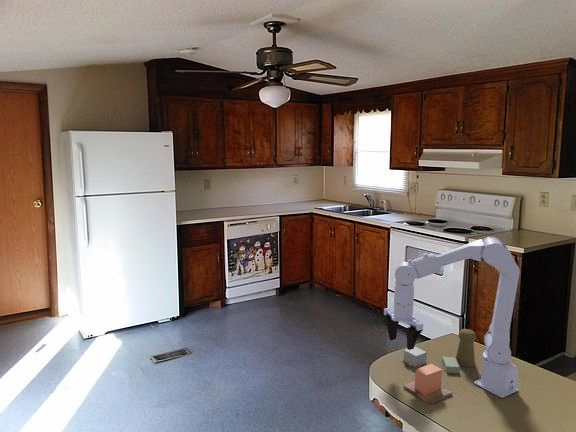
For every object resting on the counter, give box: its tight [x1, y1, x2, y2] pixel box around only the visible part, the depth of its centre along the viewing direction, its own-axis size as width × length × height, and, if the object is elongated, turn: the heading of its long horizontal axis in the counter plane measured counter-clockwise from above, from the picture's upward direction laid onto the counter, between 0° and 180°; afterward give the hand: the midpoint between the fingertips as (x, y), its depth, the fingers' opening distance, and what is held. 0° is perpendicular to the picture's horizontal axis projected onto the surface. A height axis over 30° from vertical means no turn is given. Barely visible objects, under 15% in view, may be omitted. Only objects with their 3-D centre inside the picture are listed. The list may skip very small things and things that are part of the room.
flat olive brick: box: [441, 356, 461, 374], centre depth 150 cm, size 6×4×2 cm, turn 173°
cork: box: [455, 328, 477, 368], centre depth 153 cm, size 6×6×11 cm
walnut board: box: [403, 380, 453, 405], centre depth 136 cm, size 10×9×1 cm
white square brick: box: [403, 345, 427, 368], centre depth 153 cm, size 5×5×4 cm
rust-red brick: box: [414, 363, 443, 395], centre depth 136 cm, size 4×6×6 cm, turn 122°
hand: (401, 344), depth 145 cm, fingers open, 7 cm apart
